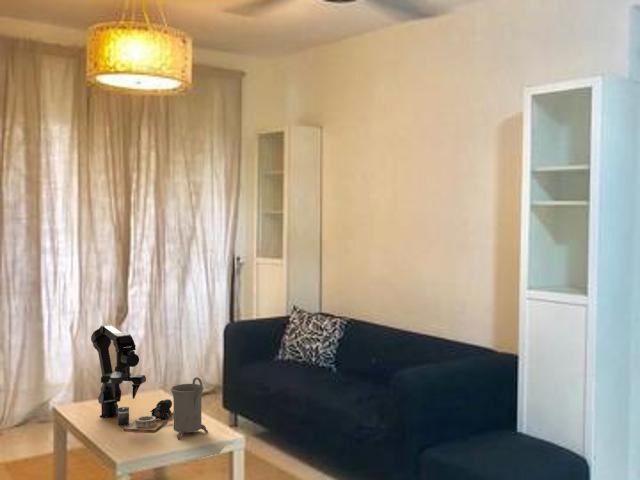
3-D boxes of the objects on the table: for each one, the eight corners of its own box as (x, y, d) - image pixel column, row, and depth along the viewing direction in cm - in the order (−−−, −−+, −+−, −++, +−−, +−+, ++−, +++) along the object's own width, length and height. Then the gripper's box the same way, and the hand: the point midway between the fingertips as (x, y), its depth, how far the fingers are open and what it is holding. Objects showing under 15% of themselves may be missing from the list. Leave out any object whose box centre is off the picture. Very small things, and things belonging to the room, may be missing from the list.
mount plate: (123, 430, 283) (123, 422, 283) (137, 420, 297) (137, 413, 297) (154, 432, 281) (154, 424, 281) (167, 422, 295) (167, 414, 295)
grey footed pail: (161, 433, 280) (160, 374, 279) (190, 425, 291) (190, 368, 290) (186, 443, 267) (186, 381, 266) (216, 434, 278) (216, 375, 277)
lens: (116, 425, 291) (116, 409, 290) (121, 422, 295) (120, 406, 295) (126, 426, 290) (126, 410, 290) (131, 422, 295) (130, 407, 294)
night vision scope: (167, 416, 312) (183, 403, 311) (154, 429, 294) (171, 415, 293) (156, 403, 312) (172, 390, 311) (143, 415, 294) (160, 401, 293)
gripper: (94, 366, 285) (94, 402, 286) (135, 367, 283) (136, 404, 283) (106, 360, 296) (106, 395, 297) (146, 362, 294) (146, 397, 294)
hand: (123, 398), depth 292 cm, fingers open, 9 cm apart
